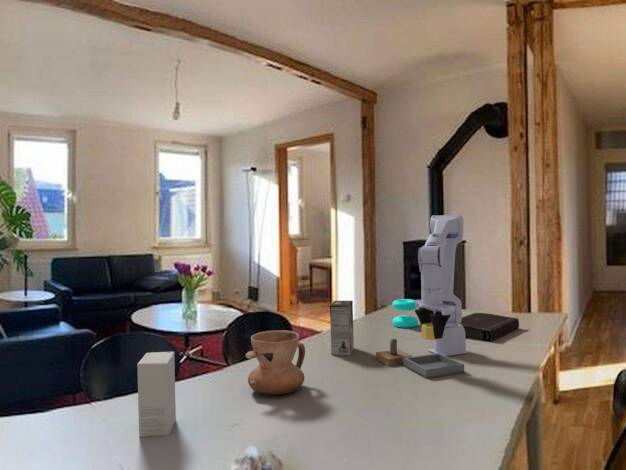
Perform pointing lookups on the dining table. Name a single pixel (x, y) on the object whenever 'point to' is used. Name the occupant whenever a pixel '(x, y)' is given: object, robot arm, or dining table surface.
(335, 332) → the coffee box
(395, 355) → the block
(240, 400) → the dining table surface
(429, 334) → the ring
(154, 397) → the skincare box
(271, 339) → the ceramic jug
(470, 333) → the diary
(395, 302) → the donuts
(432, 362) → the tray
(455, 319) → the robot arm
